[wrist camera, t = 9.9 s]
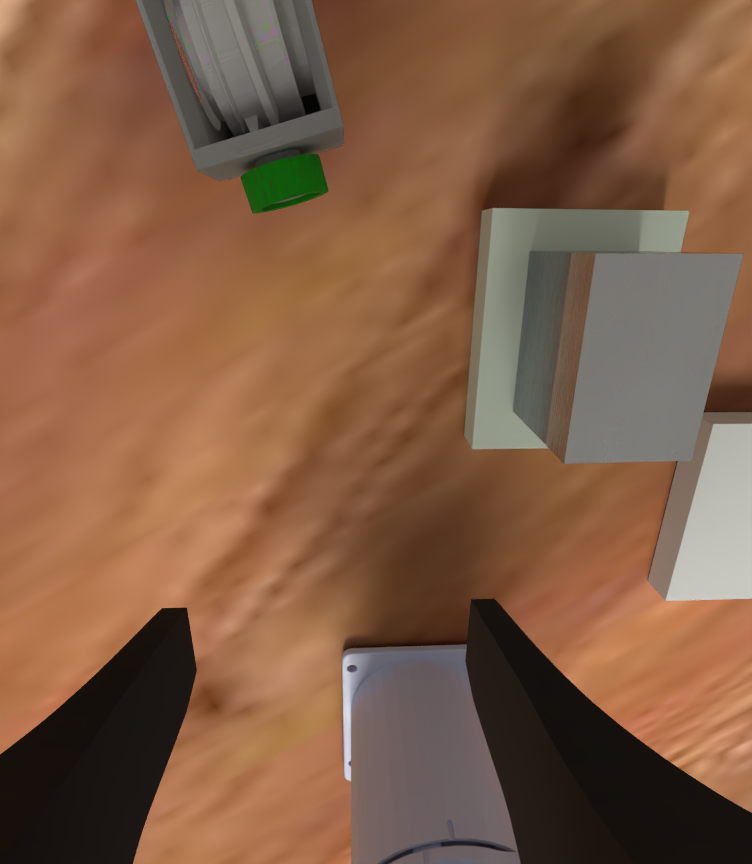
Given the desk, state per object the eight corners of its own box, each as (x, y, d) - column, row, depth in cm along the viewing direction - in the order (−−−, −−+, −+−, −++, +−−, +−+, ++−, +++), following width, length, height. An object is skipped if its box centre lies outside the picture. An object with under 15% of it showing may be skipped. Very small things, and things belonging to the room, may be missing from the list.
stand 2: (779, 577, 25) (804, 596, 24) (647, 580, 25) (665, 600, 24) (840, 411, 22) (873, 422, 21) (690, 412, 22) (713, 424, 20)
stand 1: (619, 434, 22) (638, 447, 20) (464, 435, 22) (472, 449, 20) (664, 213, 19) (689, 210, 17) (481, 210, 18) (492, 208, 17)
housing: (610, 409, 20) (690, 460, 15) (512, 411, 20) (564, 463, 15) (638, 250, 18) (743, 253, 13) (529, 251, 17) (595, 253, 13)
